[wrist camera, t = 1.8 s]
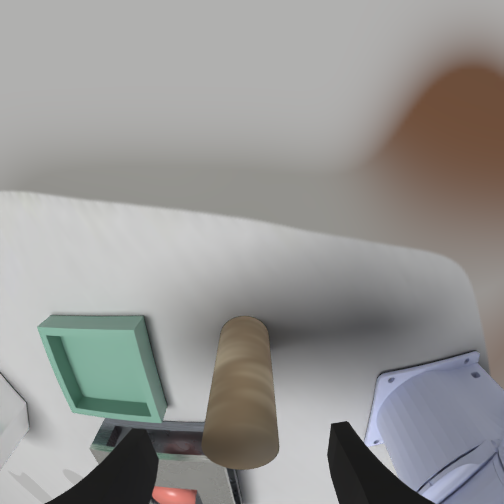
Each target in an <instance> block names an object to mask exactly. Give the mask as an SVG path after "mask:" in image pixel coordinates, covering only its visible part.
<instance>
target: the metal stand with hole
mask: <svg viewBox="0 0 504 504" xmlns="http://www.w3.org/2000/svg"><path fill="white" fill-rule="evenodd" d="M204 425H205V423H200V422H169V421H162V423H151V422H139V421H129V420H120V419H111V418H105V419H104V421H103V423H102V425H101V427H100V429H99V431H98V433H97V435H96V437H95V439H94V441H93V443H92V445H91V447H90V450H91V452H92V454H93V455H94V457H95V459H96V460H97V462H98V463H99V464H100V463H101V462H102V461H103V460H104V459H105V458H106V457H107V456H108V455H109V454H110V452H111V451H112V450H113V449H114V448H115V447H116V446H117V445H118V444H119V443H120V441H121V440H122V439H123V438H124V437H125V436H126V435H127V433H128V432H129V431H130V430H131V429H132V428H135V429H146V430H147V433H148V435H149V438H150V440H151V442H152V445H153V447H154V449H155V452H156V454H157V456H158V458H159V464H158V471H157V478H156V482H155V486H159V487H168V488H179V489H192V490H197V495H196V501H195V504H243V501H242V497H241V492H240V488H239V483H238V478H237V474H236V469H230V468H226V467H223V466H220V465H218V464H216V463H214V462H212V461H211V460H209V459H208V458H207V457H206V456H205V454H204V453H203V451H202V447H201V443H202V437H203V431H204ZM149 504H160V503H159V502H157V501H156V500H155V499H154V498H153V496H151V500H150V503H149Z"/></svg>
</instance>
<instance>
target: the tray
mask: <svg viewBox="0 0 504 504" xmlns="http://www.w3.org/2000/svg"><path fill="white" fill-rule="evenodd" d="M37 328H38V331H39V334H40V337H41V339H42V342H43V345H44V348H45V350H46V353H47V356H48V358H49V361H50V363H51V366H52V368H53V371H54V373H55V376H56V378H57V380H58V383H59V385H60V387H61V389H62V392H63V394H64V396H65V398H66V400H67V402H68V404H69V406H70V408H71V410H72V412H73V413H78V414H84V415H90V416H97V417H104V418H111V419H120V420H129V421H139V422H151V423H162V421H163V418H164V415H165V412H166V408H167V404H166V400H165V397H164V394H163V390H162V387H161V383H160V380H159V376H158V373H157V369H156V365H155V362H154V358H153V354H152V350H151V346H150V342H149V338H148V334H147V329H146V325H145V321H144V316H57V315H51V316H49V317H48V318H47V319H46V320H45V321H44V322H42V323H41V324H40V325H39V326H38V327H37Z"/></svg>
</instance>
